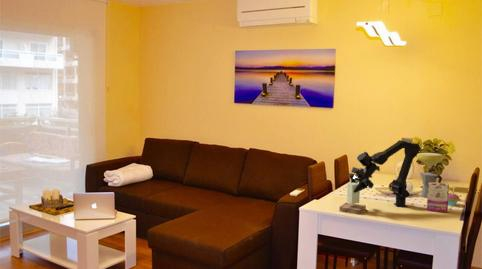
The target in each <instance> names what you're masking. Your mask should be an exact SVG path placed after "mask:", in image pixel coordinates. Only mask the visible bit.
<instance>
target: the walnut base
mask: <svg viewBox="0 0 482 269" xmlns="http://www.w3.org/2000/svg"><path fill="white" fill-rule="evenodd" d="M366 209H367V205H365V204H359V203H353V204H351V203H349V202H345V203H343V204H342V205H340V206H339V212H341V211H342V212H341V213H343V212H344V213H347V212H349V213H348V214H354V215H361V214H362V213H363V212H365V211H366Z"/></svg>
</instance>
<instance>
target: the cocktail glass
mask: <svg viewBox="0 0 482 269" xmlns="http://www.w3.org/2000/svg"><path fill="white" fill-rule="evenodd" d="M416 158H417V160H418V161H420V162H422V163H423V164H425V165H426V166H427V168H428V170H431V168H432V167H434V165H436V164H439V163H441V162H443V161H444V159H445V154H444V153H441V152H435V151H419V152H418V154H417V155H416ZM420 188H421V189H423V185H421V186H420Z"/></svg>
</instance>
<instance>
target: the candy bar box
mask: <svg viewBox="0 0 482 269" xmlns="http://www.w3.org/2000/svg"><path fill="white" fill-rule="evenodd" d="M449 189H450V187H449V183H447V182H445V183H444V182H441V183H438V182H435V183H434V182H428V195H427V198H426V200H427V201H426V210H427V211H428V212H437V213H438V212H440V213H448V212H449V211H448V210H449V208H448V206H449V205H448V193H449Z"/></svg>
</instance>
